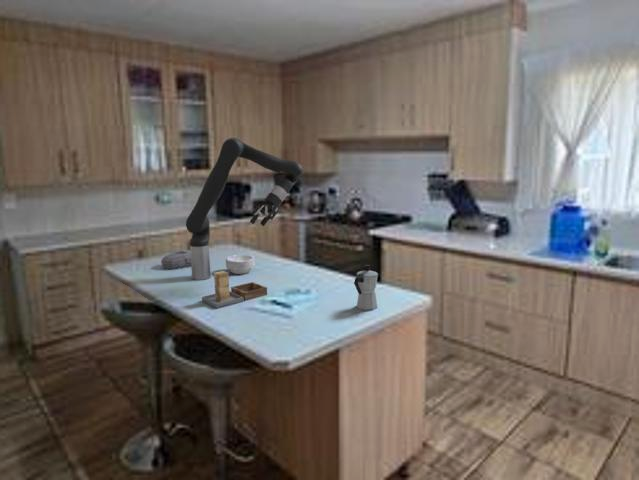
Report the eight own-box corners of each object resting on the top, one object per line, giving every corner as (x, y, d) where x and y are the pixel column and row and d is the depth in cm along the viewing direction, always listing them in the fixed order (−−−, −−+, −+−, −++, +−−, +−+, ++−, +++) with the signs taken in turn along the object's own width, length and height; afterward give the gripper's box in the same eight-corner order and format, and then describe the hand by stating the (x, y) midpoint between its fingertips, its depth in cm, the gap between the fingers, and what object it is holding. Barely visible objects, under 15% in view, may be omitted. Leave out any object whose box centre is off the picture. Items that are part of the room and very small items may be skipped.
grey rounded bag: (189, 260, 269) (157, 267, 256) (188, 247, 268) (155, 252, 254) (202, 265, 258) (168, 272, 245) (201, 251, 257) (167, 257, 243)
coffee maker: (366, 300, 195) (366, 260, 191) (384, 305, 190) (384, 263, 186) (346, 310, 184) (346, 267, 180) (364, 315, 178) (364, 271, 175)
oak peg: (215, 299, 196) (214, 272, 194) (224, 297, 199) (223, 271, 197) (220, 302, 193) (219, 274, 191) (229, 299, 196) (228, 273, 194)
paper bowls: (252, 275, 236) (251, 260, 234) (223, 275, 236) (222, 261, 235) (257, 268, 251) (256, 254, 249) (229, 268, 251) (229, 254, 249)
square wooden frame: (231, 294, 205) (231, 287, 205) (253, 289, 213) (252, 282, 212) (245, 300, 197) (244, 292, 196) (267, 294, 204) (266, 287, 204)
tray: (202, 301, 197) (201, 296, 196) (228, 294, 205) (228, 290, 205) (216, 308, 187) (216, 304, 187) (243, 301, 196) (243, 297, 195)
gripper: (262, 191, 218) (243, 217, 213) (280, 193, 207) (260, 220, 202) (271, 201, 222) (253, 227, 217) (289, 203, 212) (270, 230, 207)
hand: (256, 223), depth 210 cm, fingers open, 8 cm apart
